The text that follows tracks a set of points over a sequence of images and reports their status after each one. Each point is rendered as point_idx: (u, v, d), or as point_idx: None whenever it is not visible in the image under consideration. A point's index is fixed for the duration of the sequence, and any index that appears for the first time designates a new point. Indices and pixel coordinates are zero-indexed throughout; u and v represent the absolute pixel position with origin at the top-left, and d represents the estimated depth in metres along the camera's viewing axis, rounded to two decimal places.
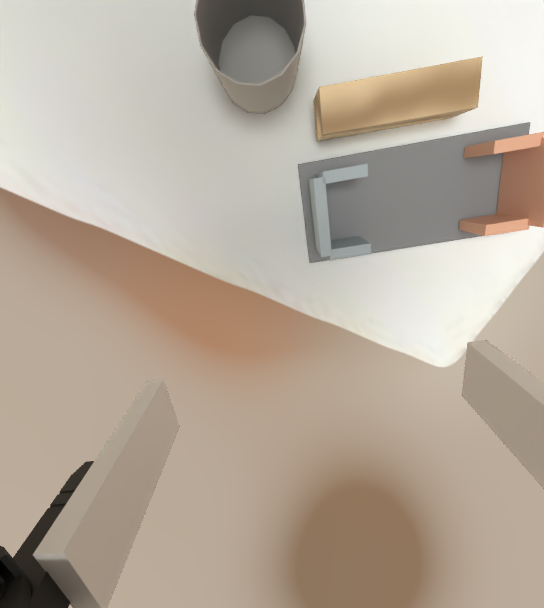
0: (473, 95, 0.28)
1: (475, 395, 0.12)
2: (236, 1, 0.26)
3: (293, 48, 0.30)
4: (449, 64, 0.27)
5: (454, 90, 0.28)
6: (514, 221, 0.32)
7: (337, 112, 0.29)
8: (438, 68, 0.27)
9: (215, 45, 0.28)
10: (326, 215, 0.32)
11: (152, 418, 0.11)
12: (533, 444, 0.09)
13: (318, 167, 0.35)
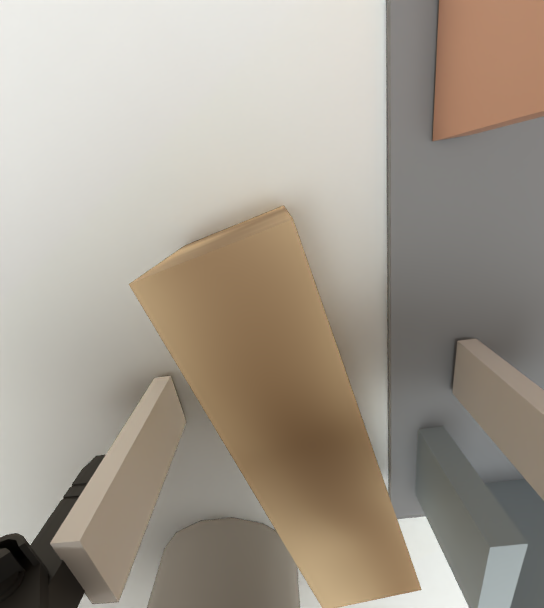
0: (257, 259, 0.07)
1: (465, 392, 0.12)
2: None
3: None
4: (192, 382, 0.08)
5: (259, 336, 0.07)
6: None
7: (370, 577, 0.11)
8: (213, 407, 0.08)
9: None
10: None
11: (160, 413, 0.12)
12: (518, 439, 0.09)
13: (403, 490, 0.16)
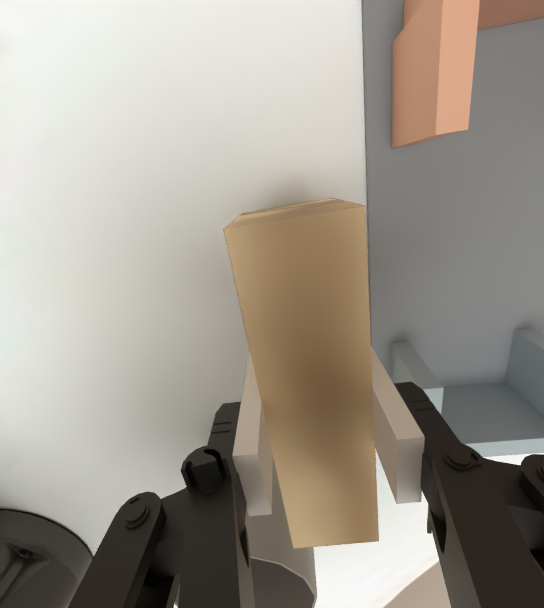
0: (329, 231, 0.08)
1: None
2: None
3: None
4: (247, 321, 0.09)
5: (312, 293, 0.09)
6: None
7: (340, 522, 0.13)
8: (257, 346, 0.10)
9: None
10: (493, 444, 0.17)
11: None
12: None
13: None
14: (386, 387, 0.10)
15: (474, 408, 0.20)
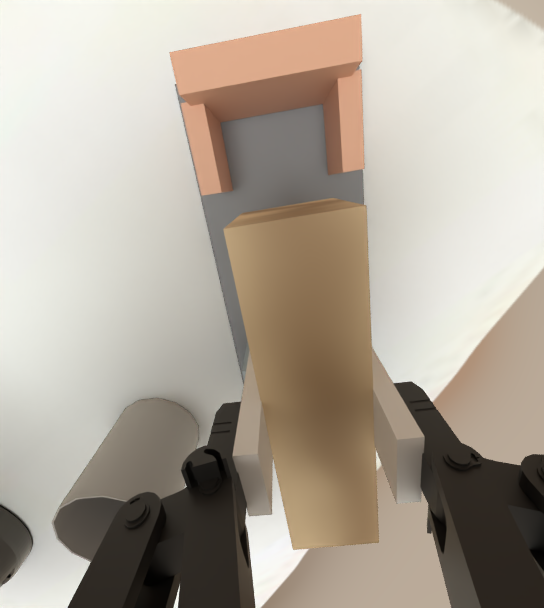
0: (330, 230, 0.08)
1: None
2: None
3: None
4: (247, 321, 0.09)
5: (313, 293, 0.09)
6: (341, 110, 0.15)
7: (340, 524, 0.13)
8: (257, 347, 0.10)
9: None
10: None
11: None
12: None
13: None
14: (386, 387, 0.10)
15: None
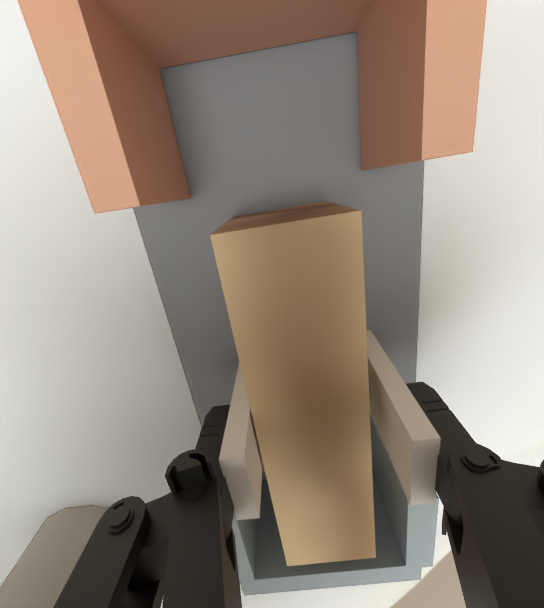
0: (323, 237, 0.08)
1: None
2: None
3: None
4: (237, 332, 0.09)
5: (305, 302, 0.09)
6: None
7: (336, 539, 0.13)
8: (247, 358, 0.09)
9: None
10: (322, 575, 0.14)
11: None
12: (379, 410, 0.11)
13: None
14: (398, 387, 0.10)
15: None
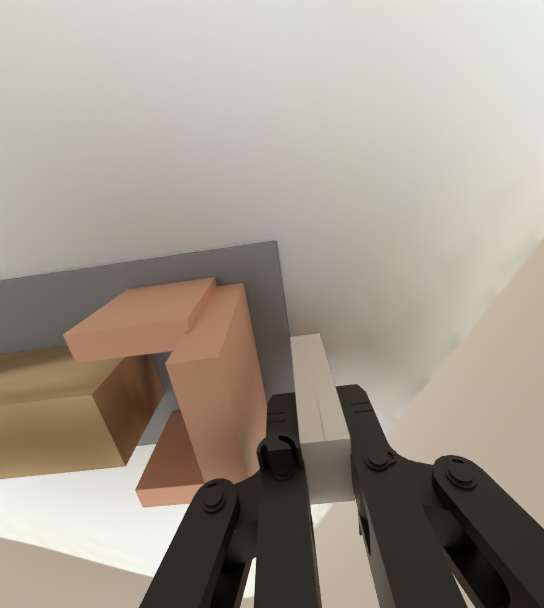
0: (105, 451, 0.13)
1: None
2: None
3: None
4: (24, 405, 0.12)
5: (60, 443, 0.13)
6: (198, 485, 0.13)
7: None
8: (3, 411, 0.12)
9: None
10: None
11: None
12: None
13: None
14: (327, 390, 0.11)
15: None
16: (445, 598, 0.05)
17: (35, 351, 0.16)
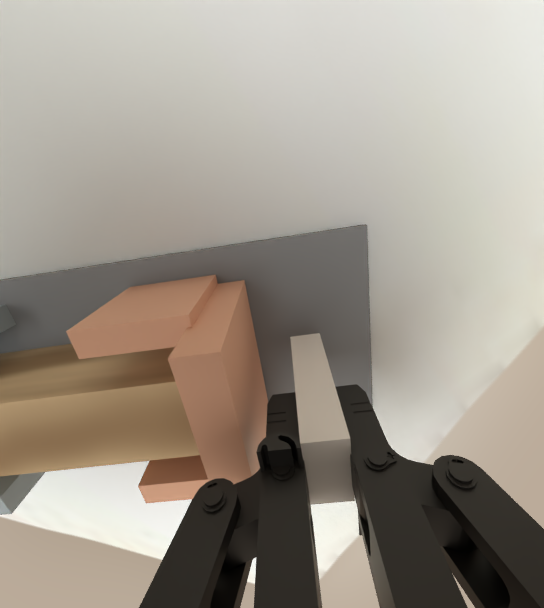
0: None
1: None
2: None
3: None
4: (130, 390, 0.12)
5: (161, 429, 0.12)
6: (200, 481, 0.14)
7: None
8: (108, 395, 0.12)
9: None
10: None
11: None
12: None
13: None
14: (327, 390, 0.11)
15: None
16: (445, 598, 0.05)
17: None
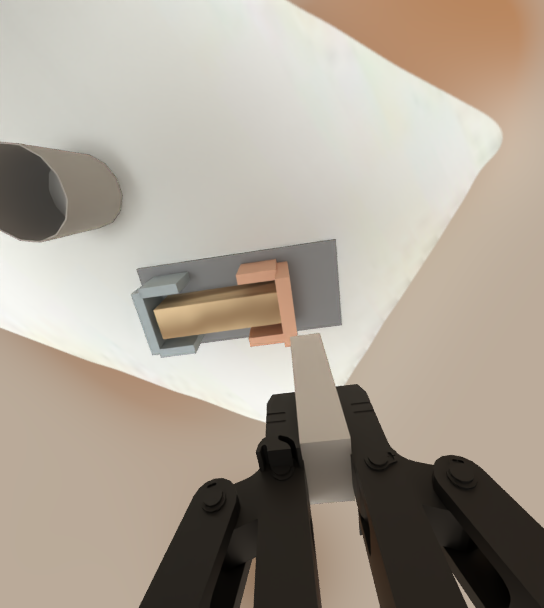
0: (276, 316, 0.35)
1: None
2: None
3: None
4: (252, 297, 0.34)
5: (260, 312, 0.35)
6: (272, 335, 0.36)
7: (171, 326, 0.36)
8: (244, 299, 0.34)
9: (33, 184, 0.32)
10: (149, 322, 0.36)
11: None
12: None
13: (155, 271, 0.38)
14: (328, 390, 0.11)
15: None
16: (445, 598, 0.05)
17: (230, 286, 0.39)
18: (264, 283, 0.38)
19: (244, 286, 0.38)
